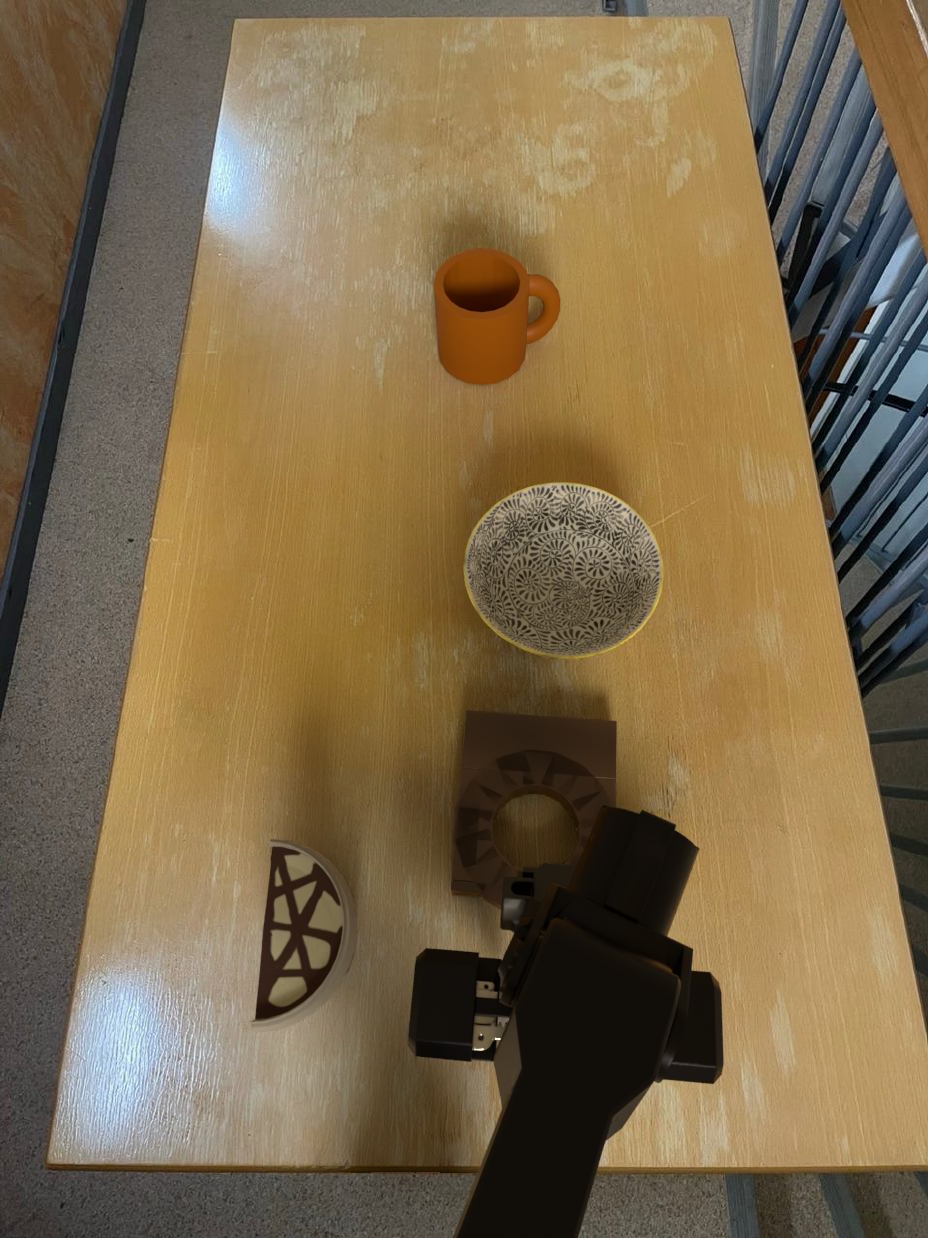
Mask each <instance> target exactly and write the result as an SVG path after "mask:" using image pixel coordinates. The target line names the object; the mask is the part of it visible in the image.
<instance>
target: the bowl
mask: <svg viewBox="0 0 928 1238" xmlns="http://www.w3.org/2000/svg"><path fill="white" fill-rule="evenodd" d="M462 565H463V566H462V570H463V571H462V573H463V580H464V585H465V589H466V592H467V595H468V597H469V598H468V599H469V600H470V602H471V604H472V606H473V608H474V609H475V612H476V613H477V614H478V616H479V617H480V618H481V619H482V622H483V623H485V624H486V625H487V626H488V627H489V629H491V631H493V632H494V633H495V634H496V635H498V636H499V637H500V638H501V639H503V640H504V641H506V642H507V643H508V644H510V645H512V646H513V647H516V648H518V649H519V650H522V651H525V652H527V653H530V654H532V655H534V656H538V657H542V658H547V659H551V660H552V659H553V660H575V659H585V658H589V657H594V656H598V655H603V654H605V653H607V652H610V651H612V650H614V649H615V648H618V647H619V646H621V645H623V644H625V643H626V642H627V641H630V639H632V638H633V637H634V636H635V635H636V634H638V633H639V631H641V630H642V628H643V627H644V626H645V625H646V623H647V622H648V621H649V620H650V618H651V616H653V613H654V612H655V610H656V608H657V605H658V603H659V600H660V599H661V595H662V591H663V585H664V578H665V577H664V576H665V573H664V572H665V571H664V570H665V568H664V559H663V555H662V552H661V549H660V545H659V542H658V540H657V538H656V536H655V533H654V532H653V531H652V529H651V527H650V526H649V524H648V522H647V521H646V520H645V519H644V518H643V517H642V515H641V514H640V513H639V512H638V511H637V510H636V509H634V507H632V506H631V505H630V504H629V503H627V502H626V501H624V500H623V499H621V498H619V497H618V496H616V495H615V494H612V493H610V492H608V491H606V490H603V489H601V488H599V487H595V486H592V485H588V484H584V483H580V482H570V481H553V482H545V483H538V484H534V485H531V486H530V485H529V486H528V487H524V488H521V489H519V490H515V492H514V491H513V492H511V493H510V494H508V495H507V496H505V497H504V498H502V499H500V500H499V501H498V502H496V503H495V504H494V505H492V506H491V507H490V508H489V509H488V510H487V511H486V512H485V513H484V514H483V515H482V516H481V518H480V519H479V520H478V522H477V523H476V525H475V526H474V528H473V529H472V531H471V533H470V535H469V538H468V540H467V543H466V546H465V549H464V554H463V563H462Z"/></svg>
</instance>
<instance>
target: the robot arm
mask: <svg viewBox="0 0 928 1238" xmlns="http://www.w3.org/2000/svg"><path fill="white" fill-rule="evenodd" d="M676 828H677V824H676V823H673V822H672V821H669V820H668V819H665V818H662V817H660V816H658V815H656V814H654V813H651V812H649V811H647V810H645V809H641V810H640V812H637V811H636V812H635V811H632V810H629V809H625V808H620V807H617V806H616V807H609V806H606V805H603V806H602V807H601V809H600V811H599V814H598V816H597V818H596V821H595V823H594V826H593V828H592V830H591V833H590V835H589V838H588V840H587V842H586V845H585V847H584V850H583V852H582V854H581V857H580V859H579V862H578V864H577V865H569V864H563V863H553V862H546V863H545V862H544V863H542V864H540V865H538V866H537V867H533V866H522V871H523V872H522V871H518V873H517V877H509V876H505V877H504V878H503V887H502V903H501V909H500V920H499V928H500V929H501V931H511V932H512V933H513V934H512V937H511V939H510V941H509V943H508V945H507V947H506V949H505V952H504V955H503V956H502V958H498V957H497V958H495V957H484V956H480V952H479V951H470V950H469V951H467V950H456V949H445V948H444V949H443V948H431V947H425V948H424V949H423V950H422V951H421V952H420V953H418V955H417V956H416V958H415V963H414V971H413V980H412V981H413V982H412V991H411V1001H410V1010H409V1011H410V1012H409V1021H408V1030H407V1031H408V1032H407V1047H408V1048H409V1051H411V1052H412V1054H413V1055H414V1056H415V1058H424V1059H425V1058H426V1059H436V1060H447V1061H455V1062H456V1061H457V1062H467V1063H472V1062H473V1061H480V1062H489V1063H493V1065H494V1073H495V1076H496V1082H497V1087H498V1093H499V1100H500V1103H501V1110H500V1113H499V1116H498V1118H497V1121H496V1124H495V1127H494V1129H493V1132H492V1135H491V1137H490V1140H489V1142H488V1145H487V1148H486V1150H485V1153H484V1155H483V1158H482V1161H481V1163H480V1166H479V1167H478V1171H477V1173H476V1176H475V1178H474V1181H473V1184H472V1186H471V1190H470V1191H469V1194H468V1196H467V1199H466V1201H465V1204H464V1206H463V1207H464V1208H463V1210H462V1212H461V1215H460V1217H459V1220H458V1223H457V1225H456V1228H455V1231H454V1234H453V1236H452V1238H579V1235H580V1232H581V1228H582V1225H583V1221H584V1218H585V1214H586V1210H587V1208H588V1204H589V1201H590V1197H591V1193H592V1189H593V1187H594V1184H595V1180H596V1176H597V1173H598V1168H599V1165H600V1162H601V1159H602V1154H603V1151H604V1147H605V1144H606V1142H607V1141H608V1140H609V1139H610V1138H611V1137H613V1136H614V1135H616V1134H617V1133H618V1132H619V1131H621V1130H622V1129H623V1127H624V1126H625V1125H626V1124H627V1122H628V1121H629V1119H630V1118H631V1116H632V1115H633V1113H634V1112H635V1110H636V1109H637V1108H638V1106H639V1104H640V1103H641V1102H642V1100H643V1099H644V1097H645V1095H646V1094H647V1093H648V1091H649V1090H650V1088H651V1087H652V1085H653V1084H654V1082H655V1083H657V1084H660V1083H662V1082H663V1081H674V1082H684V1083H685V1082H686V1083H696V1084H708V1085H714V1084H715V1083H716V1082H717V1081H718V1080H719V1078H721V1076H722V1075H723V1070H724V1064H725V1058H724V1056H725V1055H724V1030H723V1026H724V1025H723V999H722V997H723V996H722V995H723V994H722V989H721V985H720V982H719V981H718V979H717V978H716V976H714V974H713V973H712V972H711V971H704V970H703V971H701V970H693V957H694V948H692V947H690V946H689V945H686V944H685V943H682V942H680V941H677V940H675V939H674V938H671V937H669V933H670V930H671V927H672V925H673V922H674V920H675V917H676V914H677V911H678V908H679V906H680V903H681V901H682V899H683V895H684V893H685V889H686V887H687V884H688V881H689V878H690V876H691V873H692V871H693V868H694V865H695V862H696V860H697V858H698V854H699V852H700V848H699V847H698V846H696V845H695V843H694V842H693V841H691V839H689V838H688V837H687V836H686V835H684V834H683V833H681V832H679V831H678V830H676ZM531 889H532V893H531Z"/></svg>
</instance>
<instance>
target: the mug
mask: <svg viewBox="0 0 928 1238" xmlns="http://www.w3.org/2000/svg"><path fill="white" fill-rule="evenodd" d="M432 286H433V297H434V312H435V325H436V326H435V327H436V339H437V341H436V342H437V353H438V357H439V362H440V364H441V366H442V367H443V369H444V370H445V372H447V373H448V374H449V375H451V376H452V377H453V378H454V379H456V380H458V381H460V382H463V383H465V384H466V383H467V384H469V385H476V386H477V385H478V386H485V385H486V386H487V385H493V384H498V383H501V382H503V381H505V380H507V379H510V378H511V377H512V376H513V375H514V374H516V373H517V372H518V371H519V370H520V368H521V367H522V365H523V364H524V362H525V360H526V352H527V345H531V344H533V343H536V342H537V341H540V340H541V339H542V338H544V337H545V336H547V335H548V333H549V332H550V331H551V330H552V329H553V328H554V326H555V324H556V322H557V321H558V318H559V316H560V312H561V296H560V292H559V289H558V288H557V287H556V284H555V283H554V282H553V281H552V280H551V279H549V278H548V277H547V276H544V275H541V274H537V273H528V271H527V269H526V268H525V267H524V265H523V264H522V263H521V261H520V260H518V259H517V258H516V257H514V256H512V255H511V254H510V253H506V252H504V251H501V250H498V249H494V248H483V247H482V248H481V247H480V248H473V249H466V250H464V251H460V252H458V253H456V254H453V255H452V256H450V257H449V258H447V259H446V260H444V262H443V263H442V264H441V265H440V266H439V267H438V269H437V271H436V272H435V276H434V280H433V285H432ZM530 297H534V298H535V297H536V298H537V299H539V300H540V301H541V303H542V309H541V312H540V313H539V315H538V316H537V317H536V318H535V319H534V320H533V321H530V322H529V305H530V304H529V303H530Z"/></svg>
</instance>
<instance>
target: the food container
mask: <svg viewBox="0 0 928 1238" xmlns="http://www.w3.org/2000/svg"><path fill="white" fill-rule="evenodd" d="M267 844H268V845H269V846H270V849H271V853H270V859H269V860H270V866H269V876H268V884H267V894H266V895H267V896H266V904H265V912H264V917H263V918H264V919H263V925H262V936H261V938H262V939H261V951H260V963H259V974H258V976H259V977H258V982H257V983H258V985H257V992H256V993H257V995H256V1005H255V1014H254V1019H252V1020H250V1021H249V1022H248V1023H249V1024H250V1028H251V1030H252V1031H253V1032H254V1033H255V1034H258V1033H259V1034H260V1033H261V1034H262V1033H272V1032H275V1031H278V1030H283V1029H286V1028H289V1027H291V1026H294V1025H296V1024H298V1023H300V1022H301V1021H304V1020H305V1019H307V1018H308V1017H310V1016H312V1015H313V1014H314V1013H315V1012H316V1011H318V1010H319V1009H320V1008H322V1006H324V1005H325V1004H326V1003H327V1002H328V1001H329V999H330V998H331V997H332V996H333V995H334V993H335V992H336V991H337V989H338V988H339V987H340V985H341V984H342V982H343V981H344V979H345V977H346V976H347V974H348V973H349V971H350V968H351V965H352V962H353V958H354V955H355V950H356V945H357V936H358V917H357V910H356V904H355V901H354V898H353V895H352V893H351V890H350V888H349V887H350V886H349V885H348V883H347V881H346V880H345V878H344V876H343V875H342V874H341V872H340V871H339V870H338V868H337V866H336V865H334V864H333V863H332V862H331V861H330V860H329V859H328V858H327V857H325V856H324V855H322V854H321V853H320V852H318V851H316V850H315V849H314V848H311V847H309V846H307V845H304V844H303V843H301V842H294V841H292V840H289V839H288V840H287V839H278V838H276V839H275V838H274V839H273V838H270V839H269V840H267Z"/></svg>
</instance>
